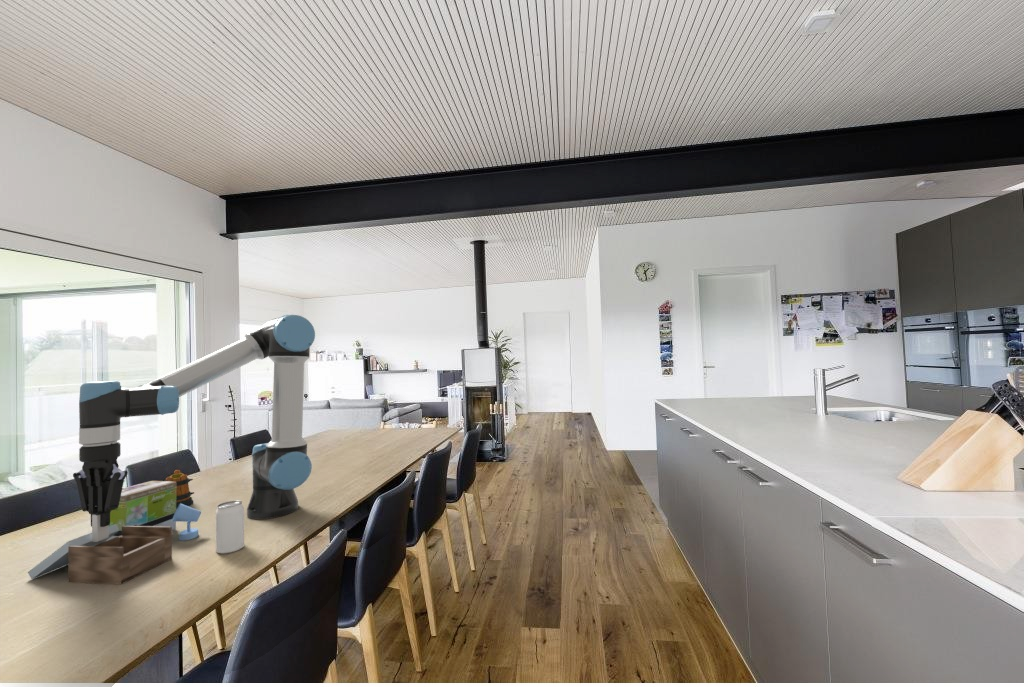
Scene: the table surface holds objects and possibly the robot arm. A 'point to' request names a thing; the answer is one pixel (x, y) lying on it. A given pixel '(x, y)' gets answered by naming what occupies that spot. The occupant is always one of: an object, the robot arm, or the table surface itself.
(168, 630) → the table surface
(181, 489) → the mug
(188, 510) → the spotlight
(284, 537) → the table surface
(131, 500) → the tea box
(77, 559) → the walnut box
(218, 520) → the can
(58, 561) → the cover plate
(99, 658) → the table surface
